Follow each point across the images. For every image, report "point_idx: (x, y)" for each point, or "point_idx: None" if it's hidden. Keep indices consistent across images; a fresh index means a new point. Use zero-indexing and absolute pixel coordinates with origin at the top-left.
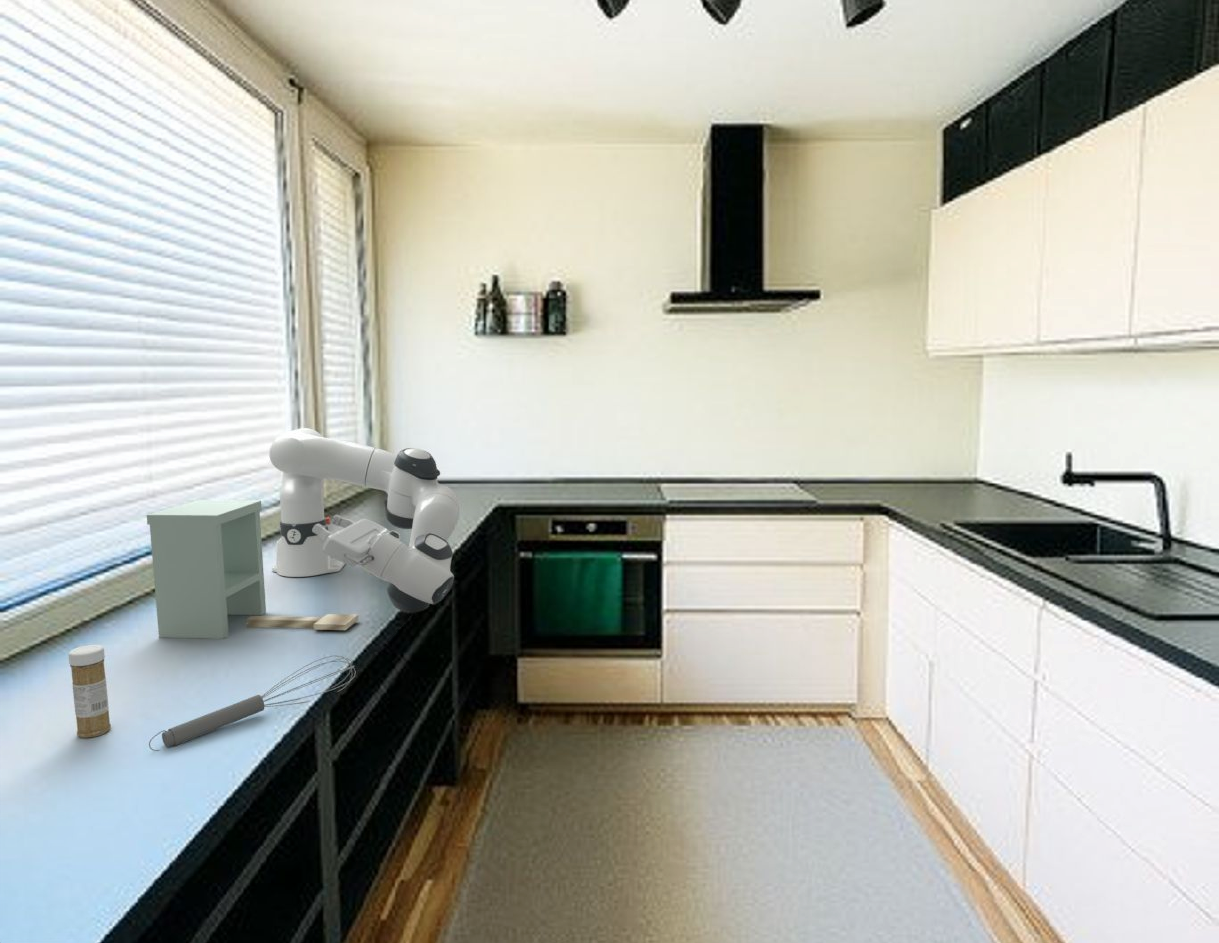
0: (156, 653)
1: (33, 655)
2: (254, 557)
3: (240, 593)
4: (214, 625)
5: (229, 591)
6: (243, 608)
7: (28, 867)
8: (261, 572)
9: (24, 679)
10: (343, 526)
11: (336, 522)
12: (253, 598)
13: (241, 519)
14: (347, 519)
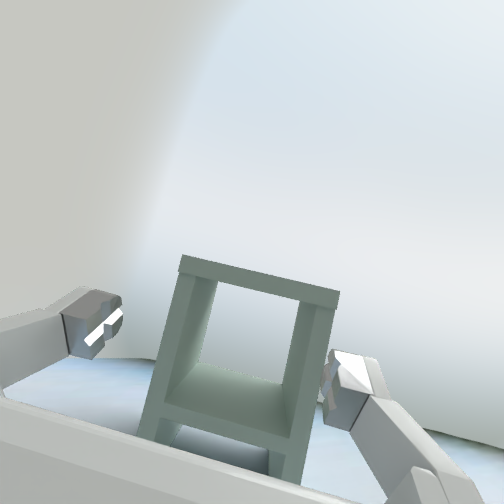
0: (97, 423)
1: (154, 364)
2: (295, 400)
3: (277, 456)
4: None
5: (174, 413)
6: None
7: None
8: (299, 443)
9: (85, 362)
10: (374, 467)
11: (326, 396)
12: None
13: (308, 318)
14: (414, 433)
